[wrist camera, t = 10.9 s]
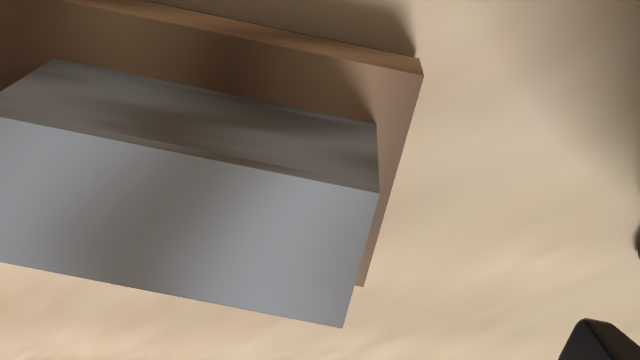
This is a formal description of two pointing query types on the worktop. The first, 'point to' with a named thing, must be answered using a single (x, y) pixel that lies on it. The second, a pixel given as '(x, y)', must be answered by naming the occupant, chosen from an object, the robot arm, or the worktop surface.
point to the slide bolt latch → (196, 153)
